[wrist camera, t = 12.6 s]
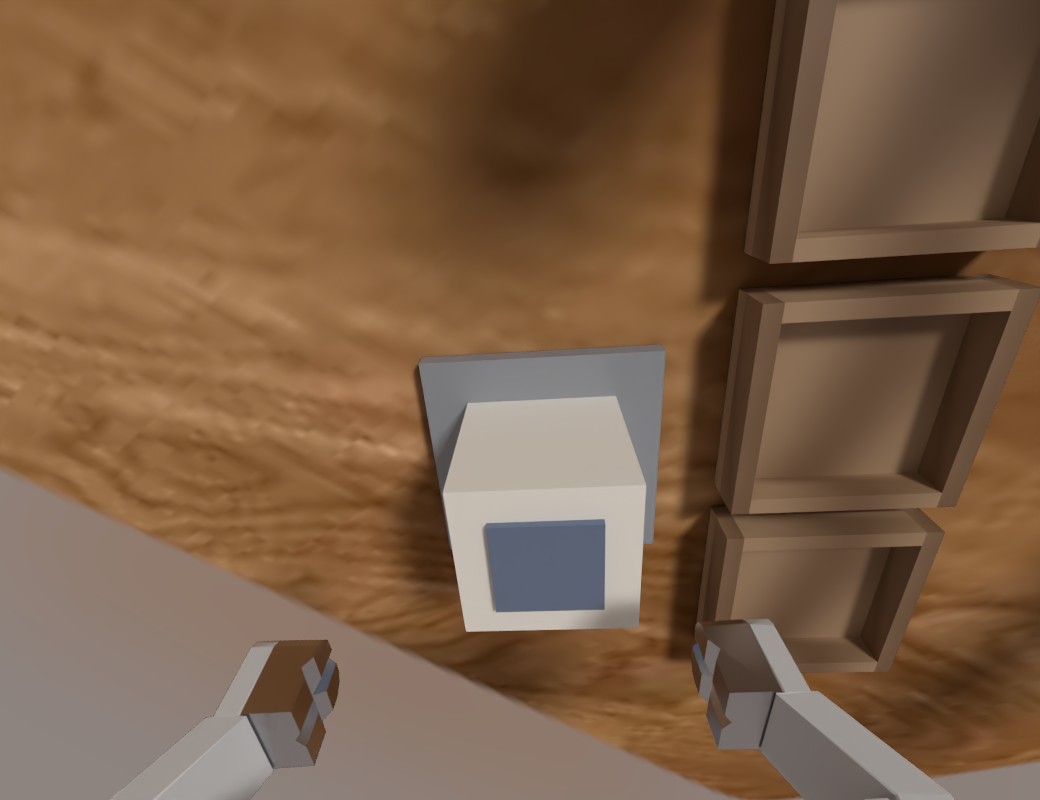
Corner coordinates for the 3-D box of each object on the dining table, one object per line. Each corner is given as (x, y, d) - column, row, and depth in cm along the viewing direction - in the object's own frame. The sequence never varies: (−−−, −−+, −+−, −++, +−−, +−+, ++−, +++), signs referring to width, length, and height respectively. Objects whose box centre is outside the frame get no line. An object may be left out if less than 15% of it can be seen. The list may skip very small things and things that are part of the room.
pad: (452, 539, 20) (450, 549, 20) (422, 357, 17) (418, 363, 16) (649, 532, 20) (653, 543, 19) (661, 344, 16) (665, 350, 16)
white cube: (482, 519, 19) (465, 637, 14) (467, 402, 17) (441, 498, 12) (613, 514, 19) (639, 633, 14) (616, 395, 16) (648, 490, 12)
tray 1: (743, 252, 15) (769, 263, 13) (785, -70, 12) (826, -108, 10) (1001, 235, 14) (1059, 245, 13) (1119, -104, 11) (1218, -148, 10)
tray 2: (714, 483, 19) (731, 514, 17) (739, 288, 15) (763, 304, 14) (917, 475, 18) (955, 506, 16) (987, 273, 15) (1043, 287, 13)
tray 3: (694, 637, 22) (706, 674, 21) (710, 506, 19) (727, 538, 17) (862, 633, 22) (889, 671, 20) (909, 499, 19) (945, 531, 17)
